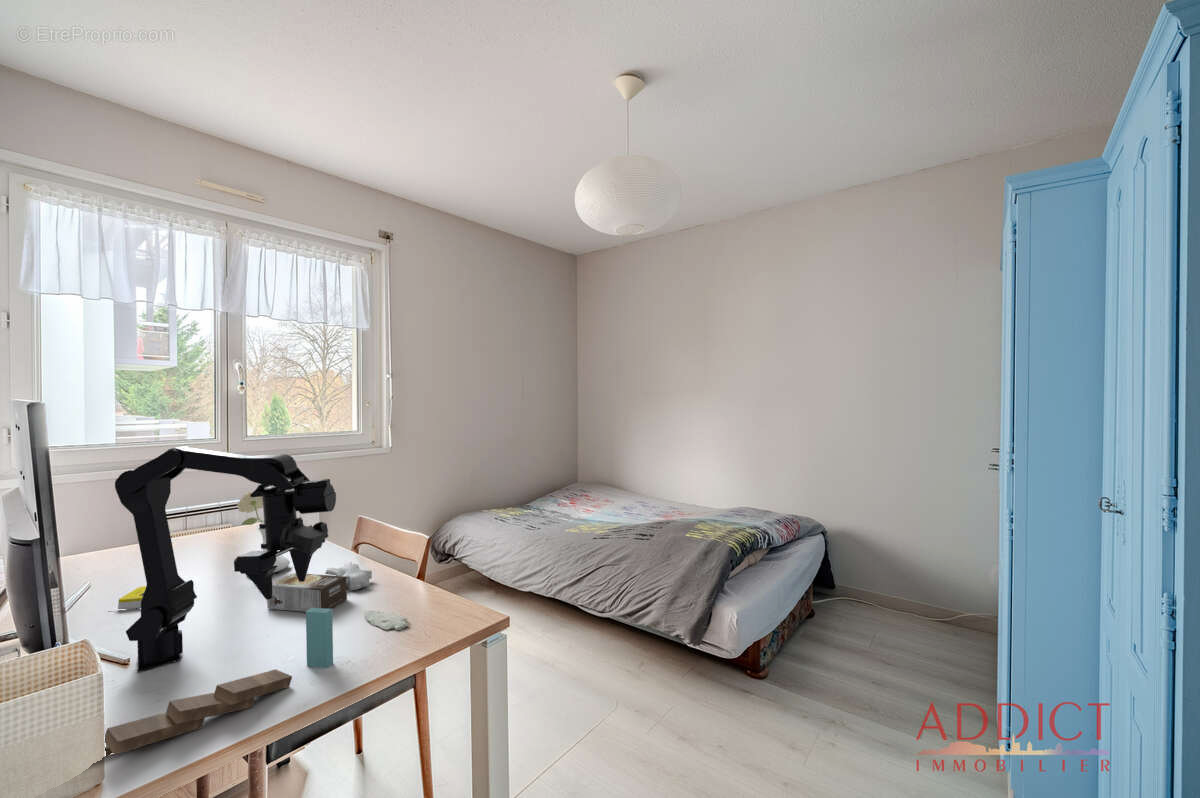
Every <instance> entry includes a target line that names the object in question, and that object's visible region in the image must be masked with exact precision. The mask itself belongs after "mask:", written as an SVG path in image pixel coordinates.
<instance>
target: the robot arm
mask: <svg viewBox="0 0 1200 798" xmlns="http://www.w3.org/2000/svg"><path fill="white" fill-rule="evenodd" d="M186 469H188V470H196V471H203V472H210V473H211V472H212V473H219V474H226V475H234V476H238V477H243V478H244V479H246V480H248V481H250V482H252V483H255V484H258V486H257V487H256V489H254V490H253V491H252V492H253V493H252V492H251V494H250V497H262V499H263V507H262V509H263V521H264V522H263V523H261V522H260V523H259V524H258V525H259V526H258V527H259V528H260V529H265V538H266V542H265V543H263V542H261V543H260V549H261V550H251V551H247V552H246V553H243V554H241V555H238V556H237V557H236V558H235V559H233V568H234V572H235V573H236V572H237V573H239V572H240V574H241V575H243V574H244V575H246V576H247V577H248V579H249V580H250V581H251V582H252V583H253V585H255V587H256V588H257V590H258V591H259V593H261V595H262V596H263V598H264V599H265V601H267V600H270V599H272V582H273V574H274V573H275V572H274V570H275V569H276V568H277V566H274V564H275V562H276V557H277V556H279V555H284V554H286V553H288V552H289V555H290V557H291V561H292V564H293V567H294V570H295V571H294V573H296V575H297V577H298V580H299V582H303V581H305V578H306V574H308V569H309V568H310V563H311V559H312V557H313V555H314V553H315V552H316V551H317V550H319V549H321V548H322V546H323V544H324V543H325V542H326V539H327V538H328V537H329V534H328V533H329V529H328V524H327V523H326V522H324V521H319V522H316V523H314V525H311V524H310V525H308V526H307V525H304V519H302V517H301V516H299V517H297V512H299V514H301V515H304V514H316V513H327V512H328V513H329V512H332V511H334V510H335V508H336V507H335V506H336V502H337V493H336V491H335V488H334V486H333V484H331V479H330V478H324V479H323V478H322V479H319V480H311V481H310V479H309V477H307V476H306V474H305V473H304V472H302V470H301V468H299V467H298V466H297V462H296V460H295V459H294V458H293V456H291V455H289V454H285V453H284V454H283V453H280V454H277V453H276V454H275V453H274V454H259V455H245V454H238V453H231V452H224V451H223V452H222V451H218V450H217V451H216V450H212V449H211V450H208V449H202V448H194V447H191V446H189V445H188V446H187V445H184V446H178V447H172V448H169V449H168V450H166V451H164V452H163V453H162V454H160V455H158V456H156V457H155V458H153V459H151V460H149V461H147V462H145V463H143V464H142V465H138V466H137V467H136V468H134V469H129V470H126V471H123V472H121V474H120V475H119V476H118V477H117V478H116V479H115V482H114V488H115V489H114V490H115V492H116V494H117V497H118V499H119V502H120V503H121V505H122V506H123V507H124V508H125V509H126V510H128V511H129V513H131V514H132V516H133V521H134V526H135V527H134V528H135V531H136V532H135V533H136V535H137V541H138V547H139V551H140V556H141V562H142V567H143V571H144V577H145V582H146V583H145V584H146V585H145V586H146V589H145V592H144V594H143V597H142V600H141V609H140V617H139V618H138V619H137V620H136V621H134V623H133V624H132V625H131V626H130V627H129V628H128V629H127V630H125V633H126V636H127V638H128V641H130V642H137V660H136V661H137V662H136V672H137V673H138V672H143V671H147V670H149V669H153V668H156V667H157V668H158V667H161V666H164V665H168V664H172V663H175V662H178V661H180V660H181V655H182V654H183V651H184V650H183V648H184V647H183V630H182V629H179V624H180V623H181V622H184V621H185V620H186V618H187V615H188V613H189V612H190V611H192V608H193V607H194V605H195V599H197V598H198V596H197V594H196V592H195V589H194V587H195V586H194V584H195V583H194V581H193V580H192V579H190V580H187V581H185V580H184V579H183V578H182V577H181V576H180V575H179V573H178V568H177V562H176V559H175V552H174V547H173V542H172V538H171V533H170V532H171V530H170V527H169V522H168V517H167V511H166V508H167V507H166V506H167V504H168V500H169V497H170V495H171V490H172V489H171V487H172V485H171V484H172V483H171V481H172V480H174V479H175V478H177V477H179V476H180V475H181V474H182V473H183V472H184V471H185V470H186ZM263 549H267V551H262V550H263ZM273 572H274V573H273Z"/></svg>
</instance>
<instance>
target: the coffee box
mask: <svg viewBox="0 0 1200 798" xmlns="http://www.w3.org/2000/svg"><path fill="white" fill-rule="evenodd" d="M347 591H348V588H347V584H346V576H336V575H329V574H316V573H307V574H306V578H305V581H303V582H299V580H298V577H297V575H296V572H293V573H291V574H289V575H286V576H284V577H281V578H279V579H277V580H275V581H272V599H270V600H266V605H267V606H266V607H267V609H269V610H270V609H271V610H279V611H280V610H282V611H295V612H303V613H304V612H305V613H306V611H308V610H309V609H311V608H325V609H334V608H335V607H336V606H338V605H340V604H342V603H344V602H346V601H347V600H348V592H347ZM343 601H344V602H343Z"/></svg>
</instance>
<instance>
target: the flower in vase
mask: <svg viewBox="0 0 1200 798" xmlns="http://www.w3.org/2000/svg"><path fill="white" fill-rule="evenodd" d="M253 492H254V491H252V492H251V491H249V492H248V493H247V494H244V495H243V496H242V497H241V498H240V499H239V500H238V501H239V502H237V503H236V508H237V509H238V511H239V512H240V513H246V514H247V513H248V514H249V513H253V512H254V511H255V514H256V517H249V518H247V519H245V520H244V521H243V522H242V523H241V525H242V526H243V525H245V526H250V525H254V524H256V522H258V521H259V522H260V524H261V523H264V520H263V521H262V520H261V519H260V517H259V514H258V510H259V509H263V499H262V497H250V494H251V493H253ZM257 529H258V531H259V532H260V534H261V537H262V543H265V542H266V538H265V529H260V528H259V526H257ZM261 551H267V549H261ZM290 564H291V561H290V559H289V558H287V557H286V556H285V555H284V554H282V555H279V556H277V557H276V562H275V564H274V566H277V568H276V569H275V570H274V572H273V573H272V574H275V573H276V572H277V573H278V572H280V571H282V570H285V569H286V568H288V567H289V565H290Z"/></svg>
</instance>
